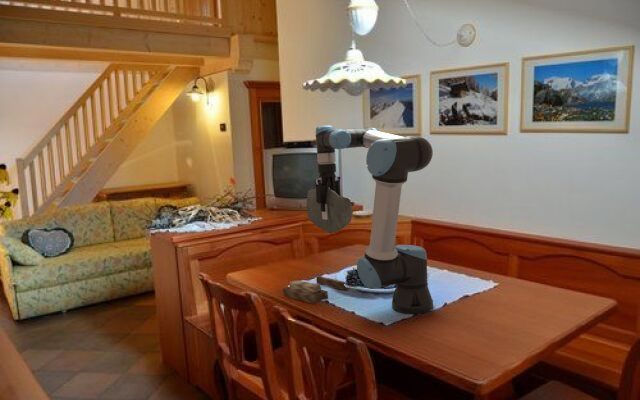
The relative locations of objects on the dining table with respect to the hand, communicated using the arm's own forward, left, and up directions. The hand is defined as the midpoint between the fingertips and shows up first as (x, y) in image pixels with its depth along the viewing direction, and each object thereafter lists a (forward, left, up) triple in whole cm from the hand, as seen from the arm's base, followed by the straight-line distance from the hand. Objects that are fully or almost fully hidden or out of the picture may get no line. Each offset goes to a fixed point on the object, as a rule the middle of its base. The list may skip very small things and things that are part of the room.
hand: (330, 217), depth 205 cm
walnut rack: (+2, +9, -31) cm, 32 cm away
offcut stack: (+2, +15, -31) cm, 35 cm away
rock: (0, 0, -7) cm, 7 cm away
